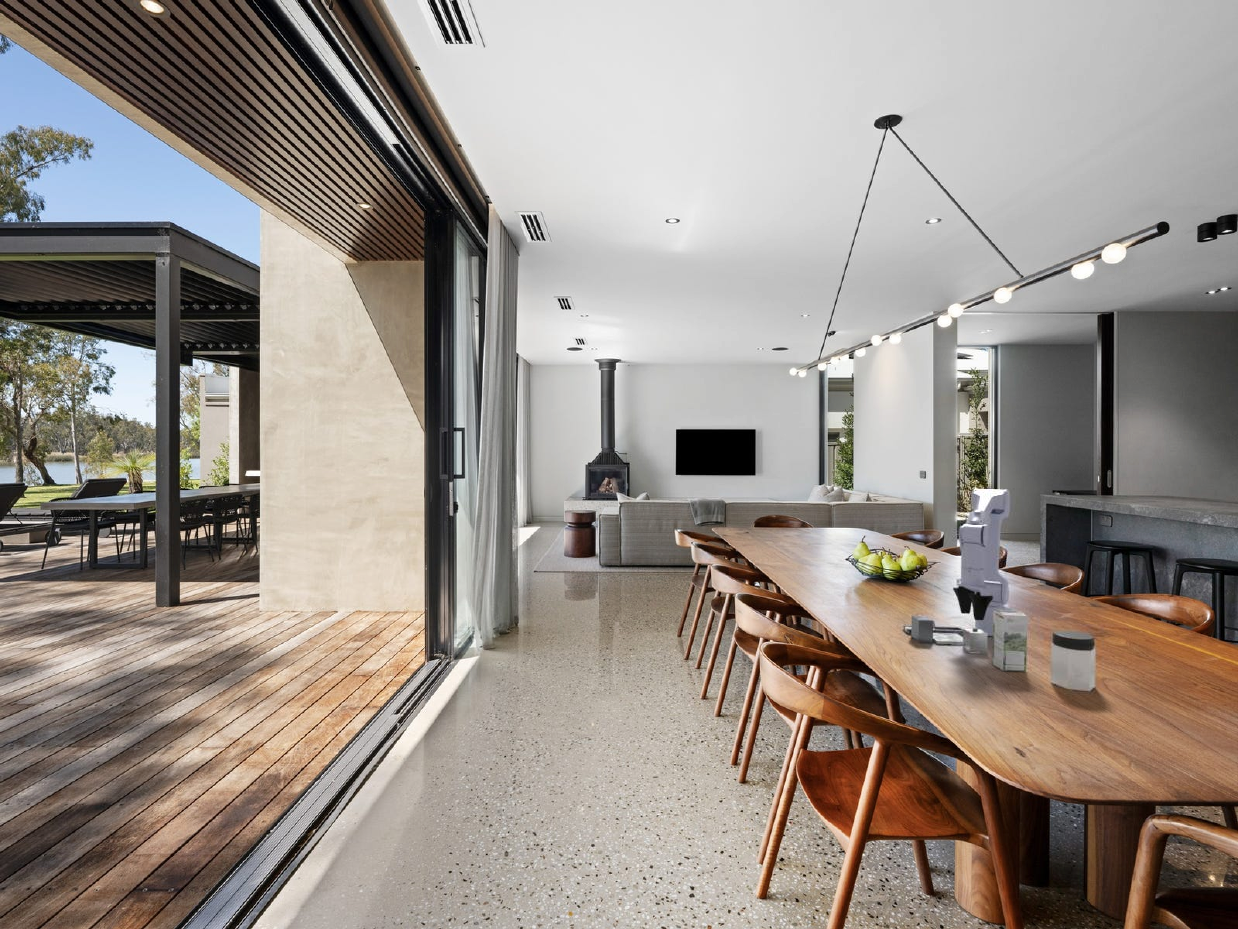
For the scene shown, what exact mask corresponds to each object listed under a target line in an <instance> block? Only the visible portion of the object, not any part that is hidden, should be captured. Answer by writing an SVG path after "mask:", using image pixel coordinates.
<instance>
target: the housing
mask: <svg viewBox="0 0 1238 929" xmlns="http://www.w3.org/2000/svg"><path fill="white" fill-rule="evenodd" d="M962 629H963V636H962V637H963V645H962V648H963V647H964V648H965V649H966V650H965V649H964V648H963V649H964V650H965V651H967V650H968V651H969V652H968V651H967V652H968V653H970V652H979V653H978V654H988V636H987V633H986V632H984V631H982V630H981V629H976V628H973V629H970V628H962Z"/></svg>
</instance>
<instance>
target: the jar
mask: <svg viewBox="0 0 1238 929" xmlns="http://www.w3.org/2000/svg"><path fill="white" fill-rule="evenodd" d="M1095 644H1096V643H1095V637H1094V636H1093V635H1092V634H1088V633H1087V632H1080V631H1075V630H1066V629H1059V630H1058V629H1057V630H1054V631H1052V643H1051V645H1050V683H1051V684H1053V685H1055V684H1056V686H1059V687H1061V688H1062V689H1066V690H1069V691H1070V690H1071V691H1080V692H1091V691H1092V690H1093V689H1094V688H1096V647H1095Z"/></svg>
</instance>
